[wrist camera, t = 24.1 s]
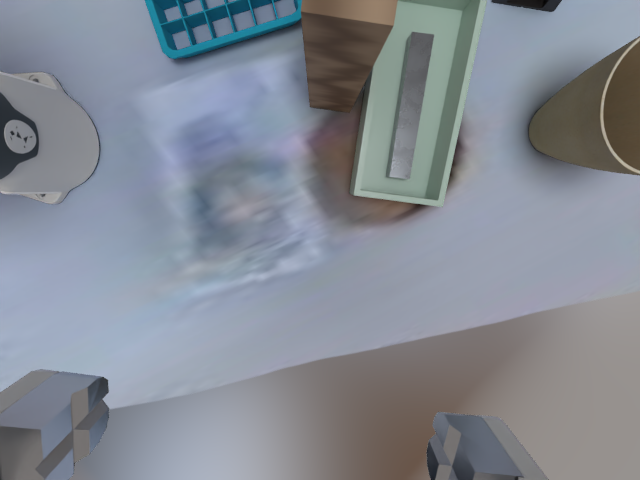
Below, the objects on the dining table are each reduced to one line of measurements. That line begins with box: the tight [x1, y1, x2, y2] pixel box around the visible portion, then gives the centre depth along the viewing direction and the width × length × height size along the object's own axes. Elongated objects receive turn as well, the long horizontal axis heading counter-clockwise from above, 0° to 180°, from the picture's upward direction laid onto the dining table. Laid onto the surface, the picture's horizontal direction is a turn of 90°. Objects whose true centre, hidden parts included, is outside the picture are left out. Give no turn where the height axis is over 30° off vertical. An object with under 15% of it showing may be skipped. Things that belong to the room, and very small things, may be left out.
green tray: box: [349, 0, 487, 207], centre depth 41 cm, size 13×28×6 cm, turn 173°
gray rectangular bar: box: [386, 32, 434, 179], centre depth 43 cm, size 3×19×2 cm, turn 174°
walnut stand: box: [301, 0, 398, 113], centre depth 30 cm, size 6×12×26 cm, turn 173°
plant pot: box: [529, 36, 640, 175], centre depth 37 cm, size 15×15×16 cm
